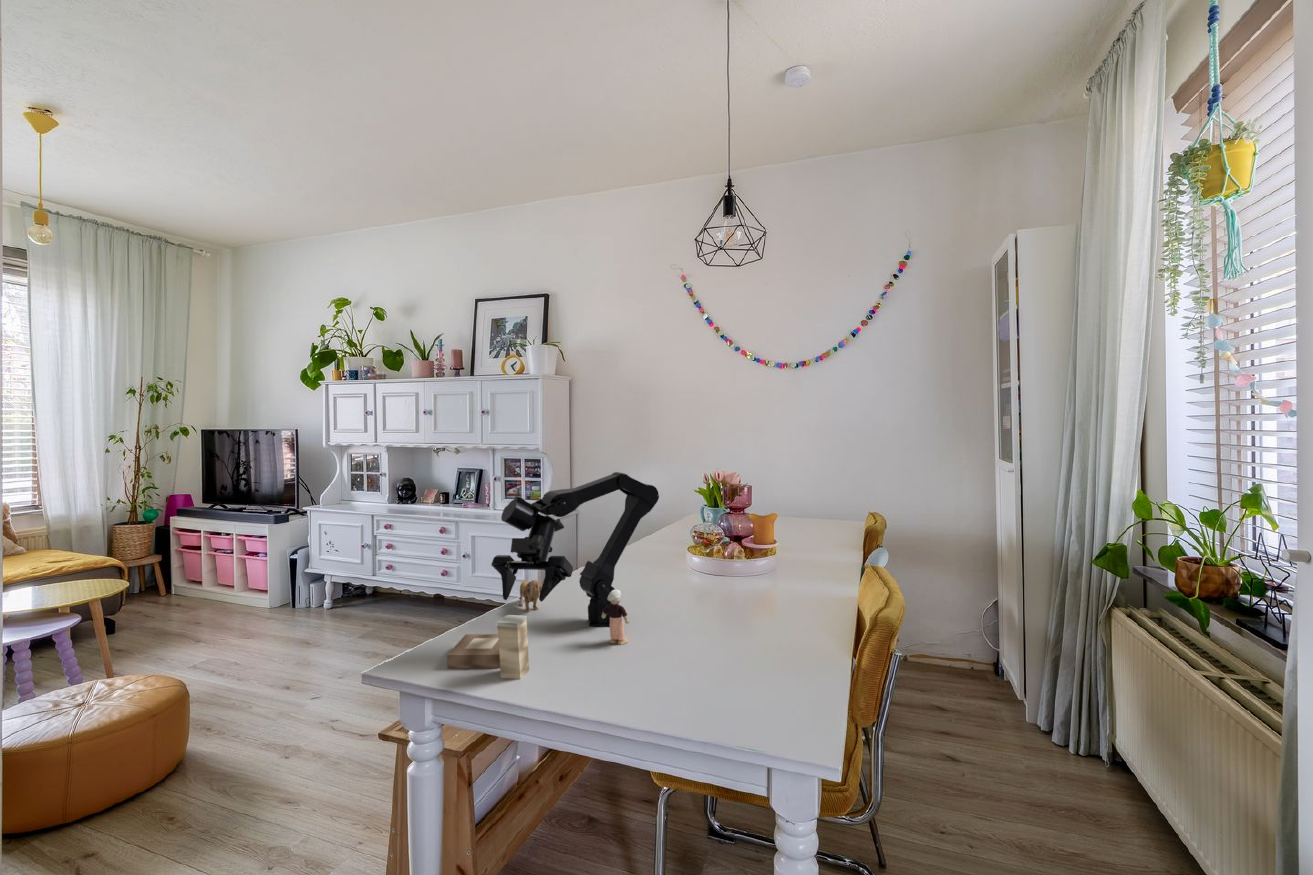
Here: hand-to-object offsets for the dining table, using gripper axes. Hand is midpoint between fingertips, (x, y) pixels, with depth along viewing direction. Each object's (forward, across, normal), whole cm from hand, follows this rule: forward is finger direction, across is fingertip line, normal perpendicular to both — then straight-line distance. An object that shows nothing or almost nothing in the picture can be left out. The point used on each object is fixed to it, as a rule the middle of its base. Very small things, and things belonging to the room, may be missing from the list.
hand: (522, 600), depth 150 cm
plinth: (+11, -10, +7) cm, 17 cm away
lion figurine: (-11, -16, +31) cm, 37 cm away
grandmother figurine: (+2, +17, +19) cm, 25 cm away
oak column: (+16, +2, +3) cm, 16 cm away
